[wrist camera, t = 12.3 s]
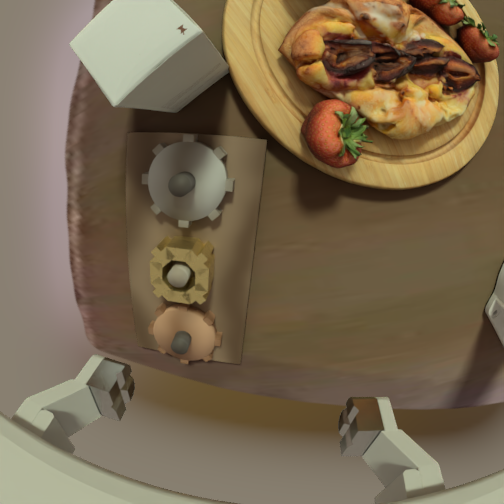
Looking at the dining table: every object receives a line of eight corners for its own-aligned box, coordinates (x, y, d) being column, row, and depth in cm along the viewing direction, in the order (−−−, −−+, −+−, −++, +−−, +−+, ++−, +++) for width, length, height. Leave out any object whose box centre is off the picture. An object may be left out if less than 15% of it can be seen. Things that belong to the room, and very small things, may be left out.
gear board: (267, 139, 28) (266, 140, 23) (241, 356, 38) (237, 383, 34) (133, 132, 28) (110, 133, 23) (141, 339, 38) (128, 362, 34)
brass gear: (215, 240, 30) (209, 252, 27) (212, 291, 33) (207, 306, 30) (160, 233, 30) (149, 244, 28) (161, 283, 33) (151, 297, 30)
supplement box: (191, 23, 23) (145, -29, 11) (233, 71, 25) (206, 32, 14) (136, 67, 25) (65, 43, 13) (174, 116, 27) (113, 109, 16)
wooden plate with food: (371, 245, 31) (400, 279, 24) (160, 41, 24) (127, 16, 16) (519, 91, 22) (560, 92, 14) (355, -88, 14) (371, -121, 7)
